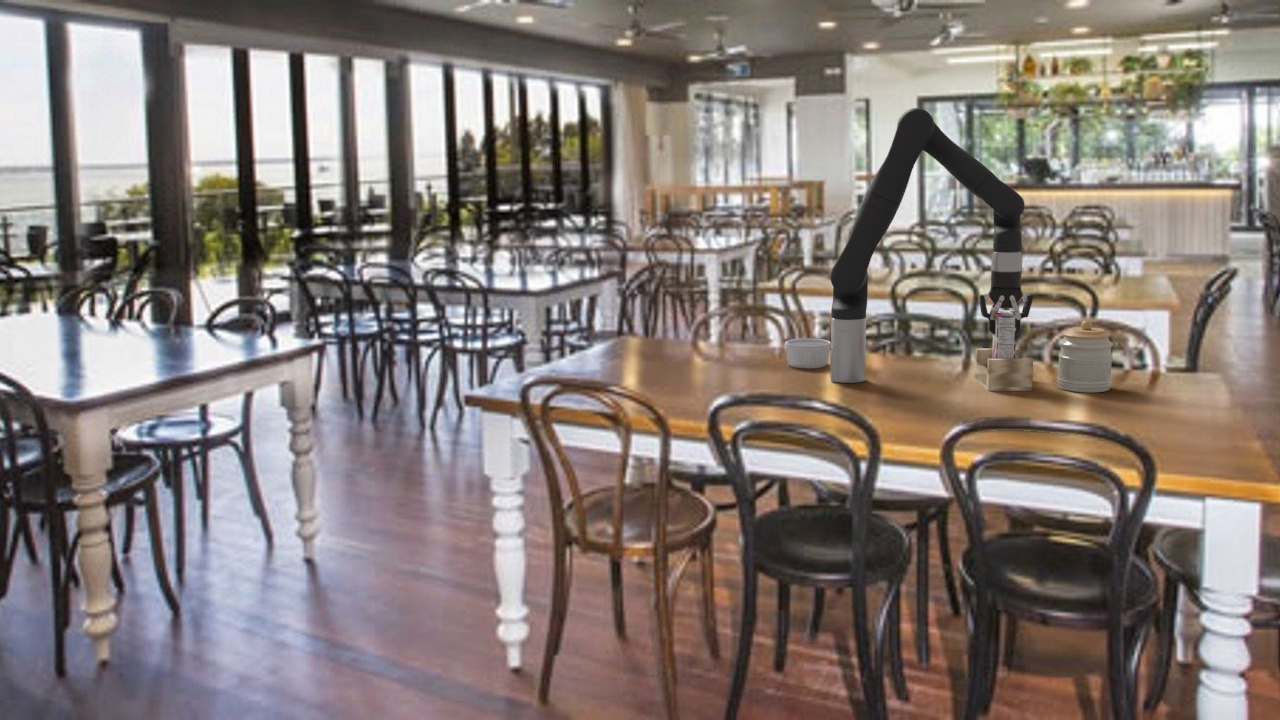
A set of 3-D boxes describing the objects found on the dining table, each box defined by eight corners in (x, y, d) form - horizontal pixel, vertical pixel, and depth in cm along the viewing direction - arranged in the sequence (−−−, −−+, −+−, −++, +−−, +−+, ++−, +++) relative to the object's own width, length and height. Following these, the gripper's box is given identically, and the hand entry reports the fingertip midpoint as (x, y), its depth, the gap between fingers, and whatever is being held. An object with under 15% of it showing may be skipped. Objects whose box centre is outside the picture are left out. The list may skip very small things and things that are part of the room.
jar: (1070, 381, 304) (1073, 315, 301) (1119, 387, 295) (1123, 319, 292) (1048, 389, 295) (1050, 321, 292) (1097, 395, 286) (1101, 325, 283)
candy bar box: (990, 370, 308) (992, 309, 305) (1009, 370, 307) (1012, 310, 304) (994, 378, 297) (997, 315, 294) (1014, 378, 296) (1017, 315, 293)
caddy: (988, 390, 294) (989, 360, 293) (974, 377, 312) (975, 348, 310) (1032, 390, 293) (1033, 360, 292) (1016, 377, 311) (1017, 348, 309)
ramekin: (833, 369, 329) (834, 345, 327) (787, 369, 329) (787, 346, 328) (827, 360, 342) (827, 337, 340) (782, 361, 342) (782, 338, 341)
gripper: (980, 270, 294) (978, 336, 297) (1038, 270, 293) (1035, 335, 296) (975, 267, 301) (973, 331, 304) (1031, 267, 300) (1028, 331, 303)
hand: (1004, 333), depth 300 cm, fingers closed on candy bar box, 5 cm apart
